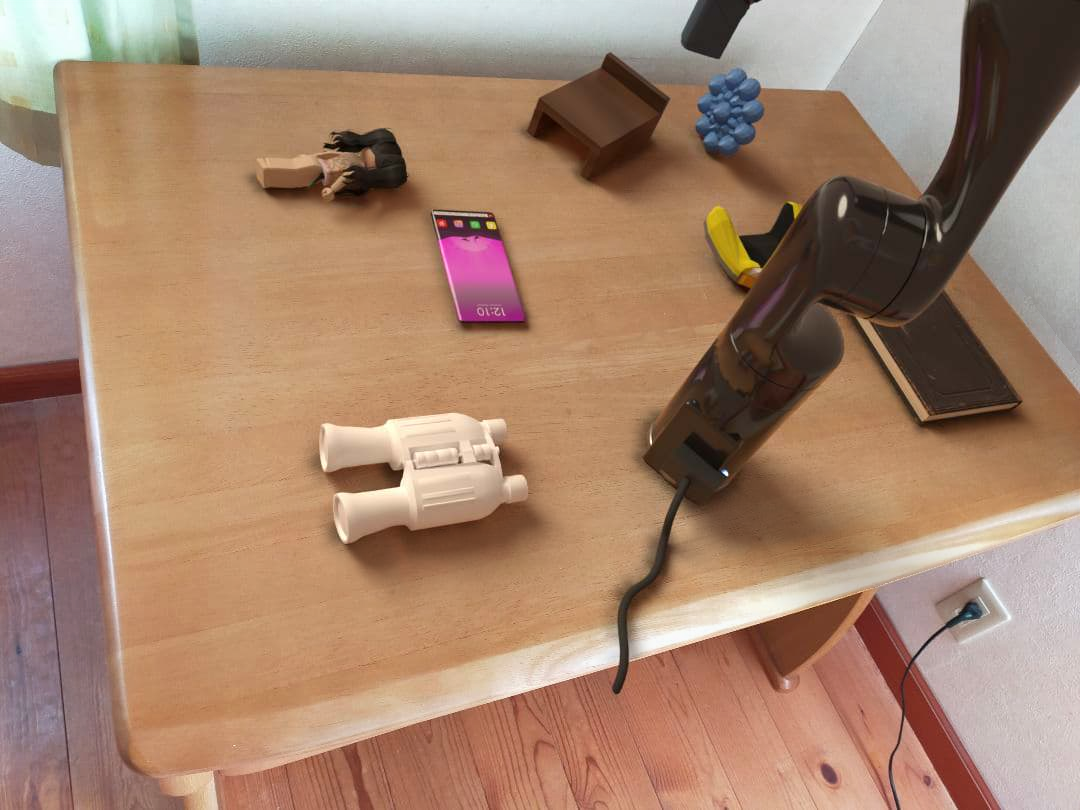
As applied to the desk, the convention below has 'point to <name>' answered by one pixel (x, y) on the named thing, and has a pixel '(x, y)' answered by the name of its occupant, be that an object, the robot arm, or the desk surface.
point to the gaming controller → (745, 243)
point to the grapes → (729, 112)
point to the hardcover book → (940, 365)
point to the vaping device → (712, 26)
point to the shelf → (603, 112)
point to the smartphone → (477, 267)
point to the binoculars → (421, 472)
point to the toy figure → (341, 165)
